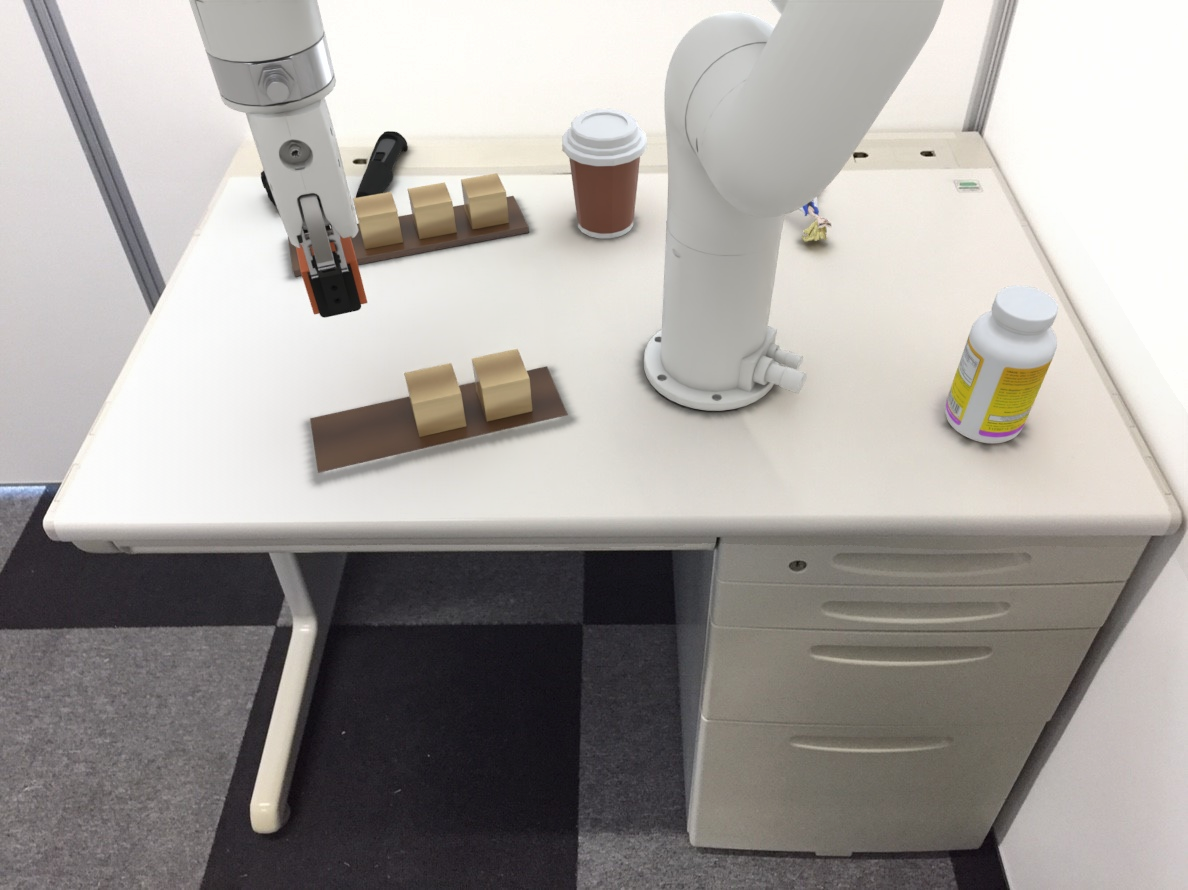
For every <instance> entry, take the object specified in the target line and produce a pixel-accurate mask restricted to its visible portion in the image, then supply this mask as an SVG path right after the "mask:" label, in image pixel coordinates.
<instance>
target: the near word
mask: <svg viewBox="0 0 1188 890" xmlns="http://www.w3.org/2000/svg"><path fill="white" fill-rule="evenodd" d="M471 362H472V363H471V364H472V370H473V378H474V381H473V382H469V383H468V382H467V383H465V384H460V385H459V382H458V379H457V376H456V372H455V370H454V367H453V363H452V362H449V363H444V364H440V365H436V366H430V367H425V368H421V369H416V370H412V371H407V372H404V379H405V384H406V389H407V393H408V396H405V397H400V398H396V399H391V400H387V401H382V402H378V403H373V404H368V405H364V406H360V407H355V408H351V409H346V410H341V411H338V412H333V413H328V414H323V415H318V416H314V417H310V419H309V421H310V428H311V433H312V441H313V442H312V443H313V448H314V455H315V463H316V468H317V473H319V474H320V473H323V472H329V471H332V470H337V469H342V468H345V467H349V466H354V465H359V464H363V463H367V462H371V461H375V460H380V459H385V458H389V457H393V456H398V455H402V454H405V453H411V452H413V451H419V450H423V449H428V448H431V447H432V448H433V447H436V446H440V445H445V444H448V443H453V442H457V441H461V440H467V439H470V438H474V437H479V436H483V435H487V434H492V433H496V432H500V431H505V430H509V429H513V428H518V427H522V426H527V425H530V424H535V423H540V422H543V421H548V420H552V419H553V420H554V419H557V418H562V417H565V416H568V411H567V409H566V407H565V404H564V402H563V400H562V398H561V395H560V392H559V391H558V388H557V386H556V383H555V381H554V378H553V376H552V374H551V372H550V369H549V367H548V366H547V365H546V366H542V367H541V366H540V367H537V368H533V369H528V370H527V367H526V365H525V363H524V361H523V359H522V356H521V353H520V351H519V349H518V348H515V349H509V350H505V351H500V352H496V353H491V354H486V355H481V356H476V357H472V358H471Z"/></svg>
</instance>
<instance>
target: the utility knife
mask: <svg viewBox="0 0 1188 890" xmlns="http://www.w3.org/2000/svg"><path fill="white" fill-rule="evenodd" d="M408 150H409V146H408V142H407V140H406V138H405V137H404V136H403V135H402V134H401V133H400V132H398V131H393V130H390V131H389V130H387V131H383V133H382V134H380V136H379V137H378V139H377V141H376V142H375V145H374V146H373V149H372V152H371V154H370V157H369V160H368V162H367V166H366V169H365V171H364V174H363V175H362V178H361V180H360V184H359V186H358V188H357V191H356V194H355V196H354V198H359V197H364V196H370V195H376V194H381V193H385V192H386V190H387V189H388V187H389V186H390V184H391V183H392V182H393V179H394V173H393V169H394V167H395V164H396V163H397V161H398V158H399V156H400V154H401V152H407V151H408Z"/></svg>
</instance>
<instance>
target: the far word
mask: <svg viewBox="0 0 1188 890" xmlns="http://www.w3.org/2000/svg"><path fill="white" fill-rule="evenodd" d="M460 183H461V191H462V199H463V204H460V205H454V204H453V199H452V197H451V194H450V192H449V189H448V187H447V184H446V182H438V183H433V184H432V183H431V184H428V185H427V184H426V185H421V186H415V187H410V188H407V194H408V198H409V204H410V210H411V213H410V214H404V215H399V213H398V208H397V205H396V203H395V200H394V196H393V193H392V191H387V192H384V193H381V194H376V195H370V196H364V197H359V198H355V197H354V198H352V200H353V205H354V208H355V209H354V210H355V213H356V214H355V215H356V217H357V218H356V219H357V225H358V233H357V235H356V236H355V237H353V238H352V237H351V241H352V245H353V248H354V252H355V256H356V259H357V263H358V266H360V265H364V264H370V263H374V262H380V261H385V260H391V259H396V258H401V257H406V256H412V255H416V254H422V253H428V252H432V251H439V250H443V249H448V248H454V247H459V246H465V245H470V244H475V243H480V242H485V241H491V240H496V239H501V238H502V239H503V238H507V237H512V236H517V235H524V234H529V233H530V227H529V225H528V222H527V220H526V218H525V216H524V214H523V213H522V210H521V209H520V206H519V205H518V202H517V200H516V198H515V196H514V195H511V196H510V195H509V196H507V191H506V188H505V187H504V184H503V182H502V181H501V178H500V176H499V174H498V173H491V174H485V175H479V176H472V177H469V178H468V177H467V178H462V179H460ZM308 234H309V233H308ZM287 240H288V247H289V255H290V261H291V267H292V273H293V276H294V277H299V276H301V277H302V274H301V270H300V265H299V260H298V255H297V250H296V246H294V245H292V244H291V242H290V240H289V237H288V236H287Z"/></svg>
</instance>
